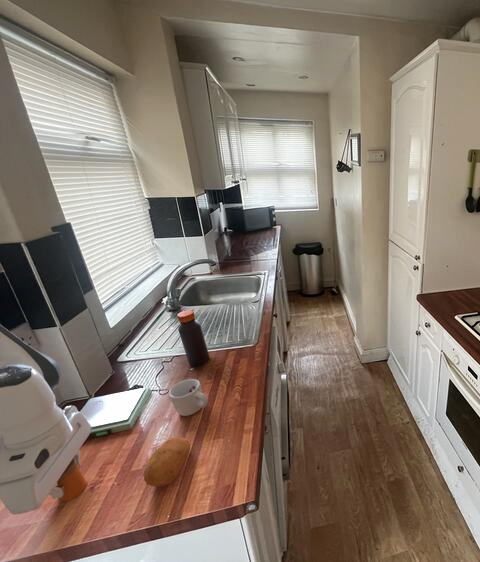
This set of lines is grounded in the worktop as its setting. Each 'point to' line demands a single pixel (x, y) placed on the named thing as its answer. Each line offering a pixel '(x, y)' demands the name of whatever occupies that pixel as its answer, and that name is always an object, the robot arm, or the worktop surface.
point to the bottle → (192, 339)
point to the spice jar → (72, 481)
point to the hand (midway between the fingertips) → (68, 481)
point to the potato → (166, 462)
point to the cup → (187, 397)
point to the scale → (114, 411)
